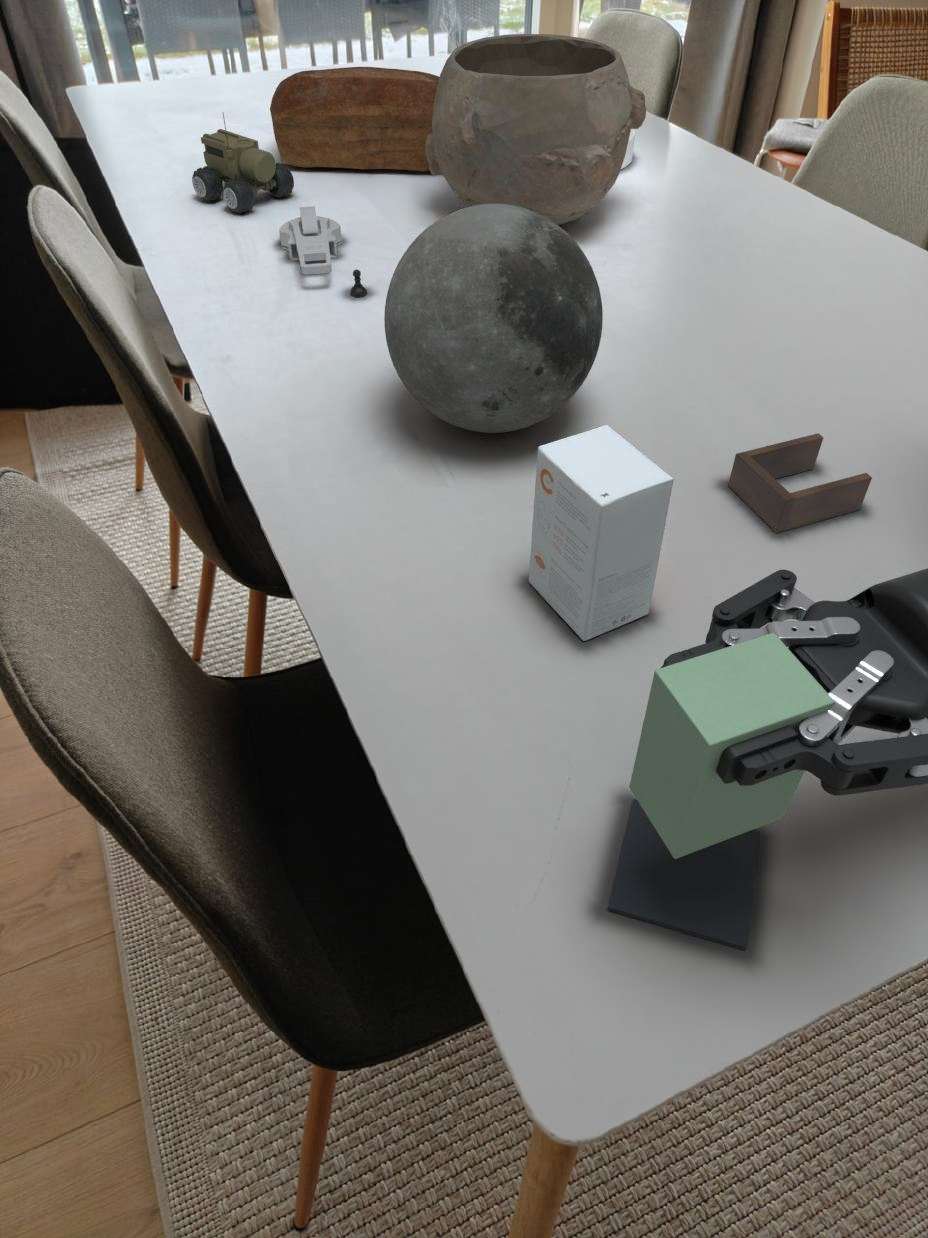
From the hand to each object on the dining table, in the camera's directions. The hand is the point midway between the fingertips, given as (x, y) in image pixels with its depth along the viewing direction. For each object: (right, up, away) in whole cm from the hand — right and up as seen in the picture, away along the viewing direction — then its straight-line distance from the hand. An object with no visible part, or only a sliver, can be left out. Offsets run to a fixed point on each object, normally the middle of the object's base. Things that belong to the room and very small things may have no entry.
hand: (691, 722), depth 46 cm
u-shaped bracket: (+19, +16, +38) cm, 46 cm away
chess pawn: (-24, +44, +67) cm, 84 cm away
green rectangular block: (+2, -5, +6) cm, 9 cm away
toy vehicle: (-42, +65, +88) cm, 118 cm away
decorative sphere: (-8, +25, +48) cm, 54 cm away
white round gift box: (+5, +77, +101) cm, 127 cm away
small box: (-1, +7, +29) cm, 29 cm away
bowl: (-3, +61, +84) cm, 103 cm away
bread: (-26, +76, +100) cm, 128 cm away
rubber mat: (+2, -10, +11) cm, 15 cm away
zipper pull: (-30, +51, +74) cm, 94 cm away
